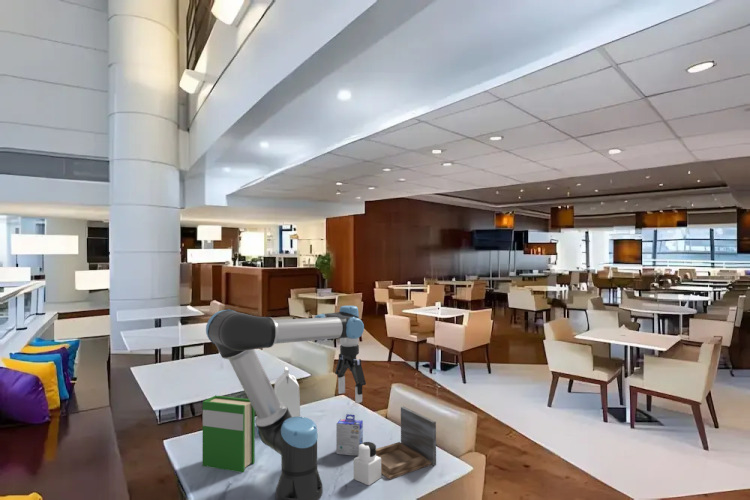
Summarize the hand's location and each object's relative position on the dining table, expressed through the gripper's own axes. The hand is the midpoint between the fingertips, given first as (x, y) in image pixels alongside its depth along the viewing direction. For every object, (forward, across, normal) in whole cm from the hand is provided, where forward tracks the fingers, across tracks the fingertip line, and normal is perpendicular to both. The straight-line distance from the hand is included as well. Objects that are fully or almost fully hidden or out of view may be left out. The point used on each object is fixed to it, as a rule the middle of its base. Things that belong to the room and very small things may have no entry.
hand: (349, 397), depth 171 cm
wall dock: (+22, -17, -11) cm, 30 cm away
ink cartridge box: (+22, 0, 0) cm, 22 cm away
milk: (+22, +42, +10) cm, 48 cm away
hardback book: (+22, +17, +43) cm, 51 cm away
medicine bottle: (+22, -21, +5) cm, 31 cm away
